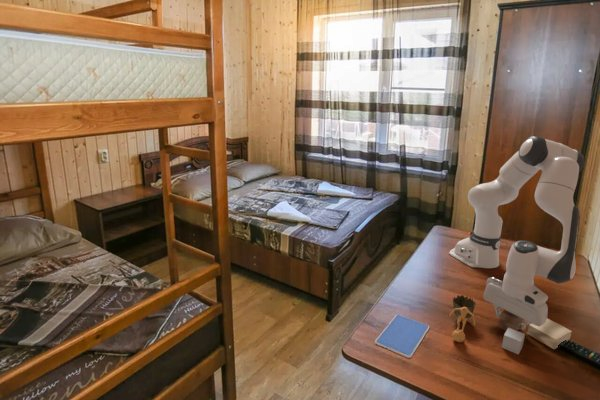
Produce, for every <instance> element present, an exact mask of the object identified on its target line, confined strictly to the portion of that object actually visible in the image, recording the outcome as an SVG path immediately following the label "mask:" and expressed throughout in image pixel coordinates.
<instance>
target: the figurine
mask: <svg viewBox="0 0 600 400" xmlns="http://www.w3.org/2000/svg"><path fill="white" fill-rule="evenodd" d="M455 310H460V312H461V316H458V320H457V319H456V323H457V328H456V329H454V330H453V332H452V339H453V340H454V342H457V343H462V342H464V341H465V339H466V334H465V332H464V329H465V326H466V324H467V321H468V319H467V318H465V317H466V315H467V313H469V314H470V315H472V316H471V317H472V320H473V326H476V319H475V315H474V313H473V314H472V313H471V312H470V311H469V310H468V308H467V307H463V308H455V309H454V310H453V309H452V311H451V312H450V313H449V315H448V316H449V318H450V317H451V316H452V314H454V311H455ZM461 319H462V320H463V321H462V322H461ZM460 323H462V328H461V329H460V325H461V324H460Z"/></svg>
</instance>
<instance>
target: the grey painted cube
mask: <svg viewBox="0 0 600 400" xmlns="http://www.w3.org/2000/svg"><path fill="white" fill-rule="evenodd" d="M525 336H526V333H523V332H521V331H520V330H518V331H516V330H513V329H511V328H508V329H507V331H506V330H505V332H504V335H503V338H502V343H501V349H505V350H506V351H509V352H511V353H514V354H516V355H519V354H520V353H521V351H522V349H523V346H524V342H525Z"/></svg>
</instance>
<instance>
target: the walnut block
mask: <svg viewBox="0 0 600 400" xmlns="http://www.w3.org/2000/svg"><path fill="white" fill-rule="evenodd" d="M522 322H523V319H522V318H520V317H518V316H516V315H514V314H512V313H510V312H508V311H506V310H504V309H503V310H502V311H501V315H500V318H499V320H498V326H497V327H498V328H500V329H502V330H504V331H505V332H506V331H507V329H508V328H511V329H513V330H516V331H520V330H521V329H520V328H519V327H520V326H519V325H520V324H521V323H522Z"/></svg>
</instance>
